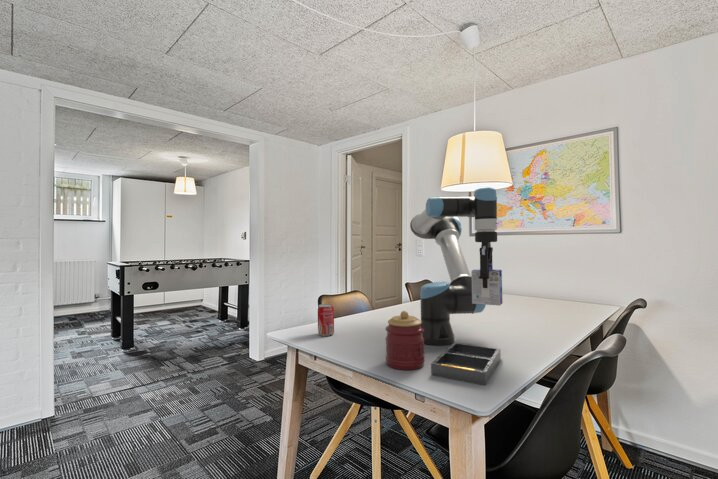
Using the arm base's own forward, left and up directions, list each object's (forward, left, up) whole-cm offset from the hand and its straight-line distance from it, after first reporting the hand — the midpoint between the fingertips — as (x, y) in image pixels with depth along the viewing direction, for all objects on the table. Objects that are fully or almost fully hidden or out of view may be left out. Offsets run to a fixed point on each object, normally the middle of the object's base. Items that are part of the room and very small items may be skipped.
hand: (487, 295), depth 128 cm
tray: (-3, -16, -21) cm, 26 cm away
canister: (-22, -23, -21) cm, 38 cm away
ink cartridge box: (0, 0, -3) cm, 3 cm away
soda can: (-67, -6, -21) cm, 71 cm away
